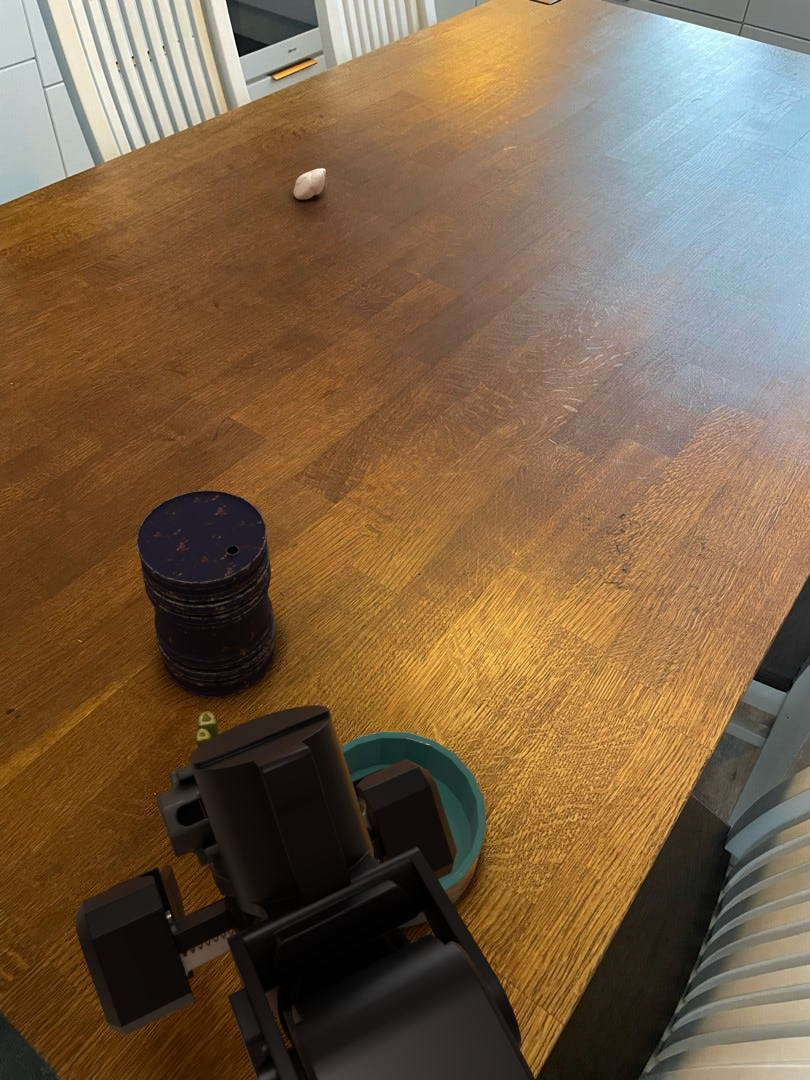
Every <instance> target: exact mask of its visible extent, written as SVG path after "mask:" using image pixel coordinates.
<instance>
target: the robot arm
mask: <svg viewBox="0 0 810 1080" xmlns="http://www.w3.org/2000/svg"><path fill="white" fill-rule="evenodd" d="M334 723H335V722H334V720H333V717H332V714H331V711H330V708H329V707H327V706H326V705H320V704H312V705H311V704H309V705H301V706H296V707H291V708H286V709H281V710H279V711H275V712H271V713H268V714H264V715H262V716H259V717H255V718H253V719H250V720H247V721H244V722H242V723H240V724H237V725H235V726H233V727H231V728H229V729H226V730H225V731H222V732H220V733H218V735H217V736H215V737H213V738H211V739H210V740H208V741H207V742H205V743H203V744H202V745H201V746H199V747H198V746H197V748H196V749H194V751H193V752H192V753H191V754H190V756H189V764H187V765H185V766H181V767H179V768H177V769H175V770H172V771H169V772H168V777H169V780H170V784H171V788H170V789H169V790H168V791H164V792H162V793H160V794H158V795H157V796H156V798H155V800H156V804H157V807H158V810H159V813H160V817H161V819H162V822H163V825H164V828H165V831H166V834H167V836H168V839H169V842H170V846H171V848H172V851H173V853H174V856H175V857H177V858H181V857H183V856H185V855H188V854H190V853H193V854H195V855H196V857H197V860H198V862H199V865H200V868H203V867H205V866H207V865H208V866H209V868H210V872H211V875H212V877H213V881H214V884H215V886H216V888H217V890H218V891H219V893H220V895H221V896H223V897H222V898H220V899H218V900H216V901H214V902H213V901H212V902H211V903H209V904H207V905H205V906H202V907H201V908H198V909H196V910H194V911H192V912H190V913H188V914H185V908H184V903H183V902H184V901H183V896H182V892H181V890H180V887H179V884H178V882H177V881H178V880H177V878H176V875H175V872H174V869H173V866H172V865H171V864H168V865H165V866H164V867H163V868H161V870H160V869H159V867H157V866H156V867H154V868H152V869H151V868H150V869H149V870H146V871H144V872H142V873H140V874H138V875H136V876H133V877H131V878H129V879H127V880H124V881H121V882H119V883H117V884H115V885H112V886H110V887H109V888H108V889H107V890H104V891H102V892H100V893H98V894H95V895H93V896H90V897H88V898H86V899H84V900H83V901H82V902H81V904H80V906H79V908H78V910H77V912H76V914H75V917H74V919H75V930H76V934H77V935H76V936H77V938H78V943H79V945H80V949H81V951H82V954H83V957H84V960H85V963H86V967H87V969H88V971H89V975H90V978H91V980H92V983H93V986H94V989H95V992H96V995H97V997H98V1000H99V1003H100V1006H101V1009H102V1012H103V1015H104V1018H105V1020H106V1023H107V1025H108V1027H109V1028H110V1029H111V1030H113V1031H116V1032H117V1033H120V1034H123V1035H125V1036H128V1035H130V1034H132V1033H134V1032H136V1031H138V1030H140V1029H143V1028H145V1027H146V1026H148V1025H150V1024H152V1023H154V1022H156V1021H158V1020H160V1019H162V1018H165V1017H166V1016H168V1015H170V1014H172V1013H174V1012H176V1011H179V1010H180V1009H182V1008H184V1007H186V1006H188V1005H191V1004H192V1003H194V1002H196V999H195V996H194V993H193V989H192V986H191V984H190V981H189V980H191V979H192V978H194V977H195V974H194V973H195V972H194V969H196V968H198V967H200V966H202V965H204V964H206V963H208V962H210V961H212V960H214V959H217V958H218V957H220V956H222V955H224V954H227V953H228V952H230V955H231V957H232V961H233V964H234V965H235V968H236V972H237V975H238V978H239V981H240V984H241V986H242V988H241V989H239V990H237V991H235V992H233V993H231V994H229V995H227V999H228V1003H229V1005H230V1009H231V1011H232V1014H233V1018H234V1019H235V1022H236V1025H237V1028H238V1031H239V1034H240V1037H241V1039H242V1042H243V1045H244V1048H245V1051H246V1053H247V1056H248V1059H249V1062H250V1064H251V1067H252V1071H253V1073H254V1075H255V1078H256V1080H536V1078H535V1074H534V1073H533V1071H532V1070H531V1067H530V1065H529V1063H528V1061H527V1059H526V1058H525V1056H524V1054H523V1052H522V1050H521V1049H522V1045H523V1044H522V1034H521V1031H520V1026H519V1023H518V1019H517V1017H516V1014H515V1011H514V1009H513V1006H512V1004H511V1002H510V999H509V997H508V995H507V992H506V991H505V989H504V986H503V985H502V983H501V982H500V980H499V977H498V976H497V974H496V972H495V971H494V969H493V968H492V966H491V965H490V963H489V961H488V959H487V957H486V956H485V954H484V953H483V951H482V949H481V948H480V946H479V945H478V943H477V942H476V940H475V938H474V936H473V935H472V933H471V932H470V930H469V928H468V927H467V925H466V923H465V922H464V920H463V919H462V917H461V914H459V912H458V910H457V909H456V907H455V905H454V904H453V903H452V902H451V900H450V899H449V897H448V895H447V894H446V892H445V890H444V889H443V887H442V885H441V884H440V882H439V880H438V879H440V878H442V877H444V876H446V875H448V874H450V873H451V872H452V869H453V865H454V861H455V858H456V853H457V849H456V846H455V843H454V839H453V836H452V833H451V830H450V826H449V823H448V820H447V817H446V813H445V810H444V807H443V804H442V800H441V797H440V794H439V791H438V787H437V784H436V782H435V780H434V779H433V777H432V775H431V774H430V772H429V770H427V769H425V768H423V767H421V766H419V765H417V764H415V763H413V762H411V761H409V760H406V759H405V760H403V761H400V762H398V763H396V764H394V765H391V766H389V767H387V768H382V769H380V770H377V771H375V772H373V773H370V774H368V775H366V776H364V777H361V778H359V779H357V780H354V781H352V779H351V776H350V773H349V770H348V767H347V764H346V761H345V757H344V754H343V751H342V748H341V746H342V744H341V742H340V739H339V735H338V732H337V729H336V726H335V724H334ZM423 913H424V914H425V917H426V919H427V921H426V922H427V923H428V925H429V927H430V929H431V932H432V934H431V933H430V934H424V935H423V936H420V937H419V938H417V939H415V940H413V941H411V940H410V939H409V938H408V937H407V935H406V934H405V932H404V931H403V930H402V929H401V928H399V927H400V926H402V925H403V924H405V923H407V922H409V921H411V920H413V919H415V918H416V917H417V916H419V915H421V914H423ZM192 949H193V950H192ZM276 1019H277V1020H276ZM277 1021H278V1022H277ZM278 1023H279V1025H278ZM279 1026H280V1027H281V1029H282V1031H283V1034H284V1036H285V1037H286V1039H287V1040H288V1042H289V1043H290V1044H291V1046H289V1047H287V1045H286V1042H285V1039H284V1037H283V1035H282V1032H281V1030H280V1028H279Z"/></svg>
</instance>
